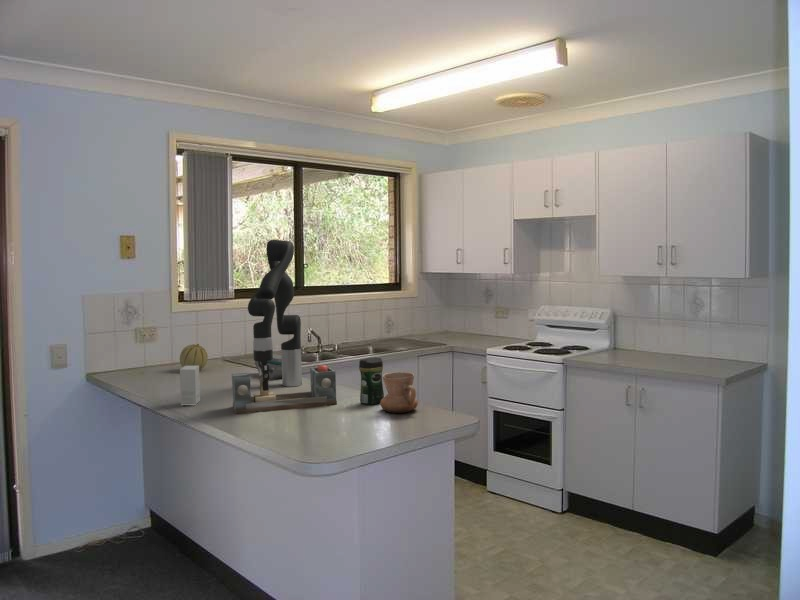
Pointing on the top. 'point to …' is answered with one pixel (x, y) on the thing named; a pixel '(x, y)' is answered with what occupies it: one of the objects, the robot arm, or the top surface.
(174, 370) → the top surface
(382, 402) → the ceramic jug
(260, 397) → the carriage
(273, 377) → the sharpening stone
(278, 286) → the robot arm
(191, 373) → the skincare box
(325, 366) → the button
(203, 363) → the cantaloupe
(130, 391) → the top surface
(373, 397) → the coffee jar
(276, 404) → the rail track
